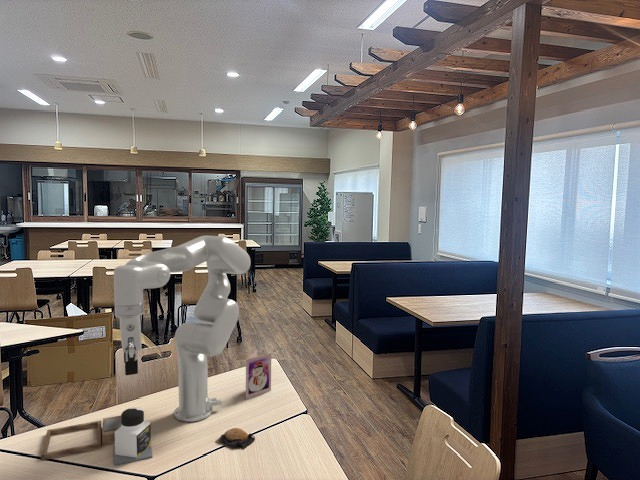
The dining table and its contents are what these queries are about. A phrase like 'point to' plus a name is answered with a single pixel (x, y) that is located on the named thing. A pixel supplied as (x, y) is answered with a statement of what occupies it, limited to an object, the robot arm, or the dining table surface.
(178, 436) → the dining table surface
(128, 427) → the medicine bottle
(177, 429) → the dining table surface
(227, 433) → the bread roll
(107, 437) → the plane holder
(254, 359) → the greeting card
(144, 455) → the slate mat
